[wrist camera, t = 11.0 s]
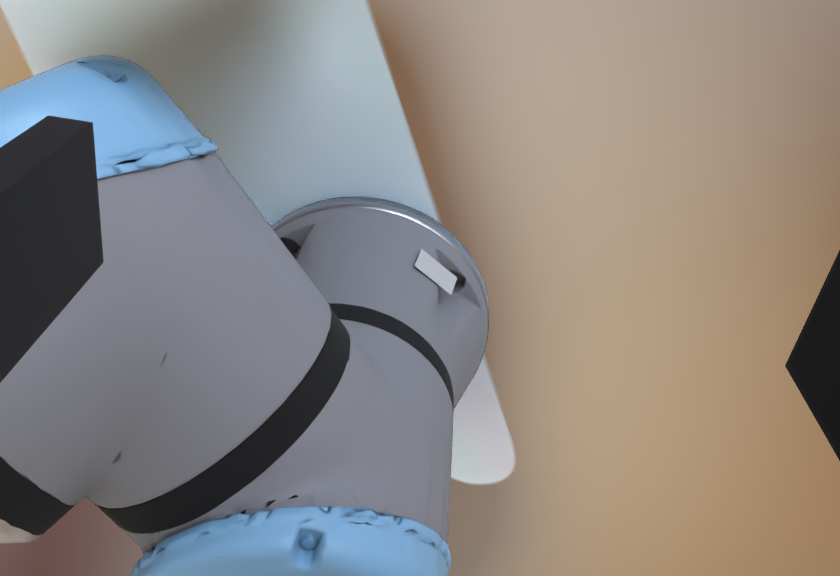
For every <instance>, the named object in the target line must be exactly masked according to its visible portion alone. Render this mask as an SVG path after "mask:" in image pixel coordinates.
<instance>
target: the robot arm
mask: <svg viewBox="0 0 840 576" xmlns="http://www.w3.org/2000/svg"><path fill="white" fill-rule="evenodd" d="M216 150H218V148H217V146H216V144H215V143H214V141H213V140H212V139H210V138H206V137H203V136H202V135H201V134H200V132H199V131H198V130H197V129H196V128H195V126H194V125H193V124H192V123H191V122H190V120H189V119H188V118H187V117H186V116H185V114H184V113H183V112H182V111H181V110H180V108H179V107H178V106H177V105H176V104H175V102H174V101H173V100H172V99H171V98H170V96H169V95H168V94H167V93H166V92H165V90H164V89H163V88H162V87H161V86H160V84H159V83H158V82H157V81H156V80H155V78H154V77H153V76H152V75H150V74H149V73H148V72H147V71H146V70H145V69H143V68H142V67H141V66H139V65H137V64H135V63H133V62H131V61H129V60H126V59H123V58H119V57H115V56H91V57H86V58H82V59H78V60H75V61H72V62H69V63H66V64H63V65H61V66H58V67H56V68H53V69H50V70H48V71H45V72H43V73H40V74H38V75H35V76H33V77H30V78H28V79H25V80H23V81H21V82H18V83H16V84H14V85H12V86H9V87H7V88H5V89H2V90H0V543H24V542H33V541H35V540H36V539H37V538H39V537H40V536H41V535H43V534H44V533H45V532H46V531H47V530H48V529H49V528H50V527H51V526H52V525H53V524H55V523H56V522H57V521H58V520H59V519H60V518H61V517H62V516H63V515H65V514H66V513H67V512H68V511H69V510H70V509H71V508H72V507H73V506H74V505H76V504H77V503H78V502H79V501H80V500H82V499H83V498H85V497H87V498H88V499H90V500H91V501H92V502H93V503H94V504H95V505H96V506H98V507H99V508H100V509H101V510H102V511H103V512H104V513H105V514H106V515H107V516H108V517H109V518H111V519H112V520H113V521H114V522H115V523H116V524H117V525H118V526H119V527H120V528H121V529H122V530H123V531H124V532H125V533H127V535H128V536H130V537H131V538H132V539H133V540H134V541H135V542H136V543H137V544H138V545H139V546H140V548H141V549H142V551H143V554H144V555H143V557H142V558H141V559H140V560H138V562H137V563H136V565H135V567H134V569H133V571H132V573H131V575H130V576H448V574H449V571H450V567H451V557H450V556H451V552H450V551H448V548H449V546H448V526H449V504H450V480H451V458H452V435H453V410H454V408H455V407H456V405H457V403H458V402H459V400H460V398H461V397H462V395H463V393H464V392H465V390H466V388H467V387H468V385H469V383H470V382H471V380H472V378H473V377H474V375H475V373H476V371H477V370H478V367H479V365H480V363H481V360H482V357H483V354H484V349H485V347H486V342H487V338H488V329H489V313H488V312H489V311H488V310H489V307H488V298H487V291H486V287H485V283H484V281H483V278H482V275H481V273H480V271H479V269H478V267H477V265H476V263H475V261H474V260H473V258H472V256H471V255H470V253H469V252H468V251H467V249H466V248H465V247H464V246H463V244H462V243H461V242H460V241H459V240H458V239H457V238H456V237H455V236H454V235H453V234H452V233H451V232H449V231H448V230H447V229H446V228H445V227H444V226H442V225H441V224H439V223H438V222H436V221H435V220H433V219H432V218H430V217H428V216H427V215H425V214H423V213H421V212H419V211H417V210H415V209H412V208H410V207H407V206H405V205H402V204H399V203H395V202H391V201H387V200H383V199H377V198H369V197H341V198H333V199H328V200H323V201H319V202H316V203H312V204H309V205H307V206H304V207H302V208H300V209H297V210H295V211H294V212H292V213H290V214H288V215H286V216H285V217H283V218H282V219H281V220H279V221H278V222H276V223H275V224H274V225H273V226H272V227H271V226H270V225H269V224H268V222H267V221H266V220H265V218H264V217H263V216H262V214H261V213H260V212H259V210H258V209H257V208H256V206H255V205H254V204H253V202H252V201H251V200H250V198H249V197H248V196H247V194H246V193H245V192H244V190H243V189H242V188H241V186H240V185H239V184H238V182H237V181H236V180H235V178H234V177H233V176H232V174H231V173H230V172H229V170H228V169H227V168H226V166H225V165H224V164H223V163H222V161H221V160H220V159H219V157H218V156H217V155H216V153H215V152H214V151H216ZM786 368H787V370H788V371H789V373H790V375H791V377H792V378H793V380H794V382H795V383H796V385H797V387H798V389H799V390H800V392H801V394H802V396H803V397H804V399H805V401H806V403H807V404H808V406H809V408H810V410H811V411H812V413H813V415H814V417H815V418H816V420H817V422H818V424H819V425H820V427H821V429H822V430H823V432H824V434H825V436H826V437H827V439H828V441H829V443H830V445H831V446H832V448H833V450H834V452H835V453H836V455H837V457H838V458H839V460H840V251H839V253H838V255H837V257H836V259H835V261H834V263H833V265H832V268H831V270H830V272H829V274H828V276H827V278H826V280H825V282H824V285H823V287H822V289H821V291H820V293H819V295H818V297H817V300H816V302H815V304H814V306H813V308H812V310H811V312H810V314H809V316H808V318H807V321H806V323H805V325H804V327H803V329H802V331H801V333H800V336H799V338H798V340H797V342H796V344H795V346H794V349H793V350H792V352H791V355H790V357H789V359H788V361H787V363H786Z"/></svg>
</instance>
